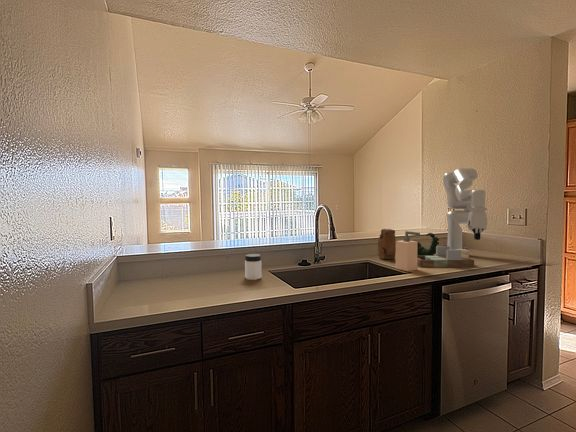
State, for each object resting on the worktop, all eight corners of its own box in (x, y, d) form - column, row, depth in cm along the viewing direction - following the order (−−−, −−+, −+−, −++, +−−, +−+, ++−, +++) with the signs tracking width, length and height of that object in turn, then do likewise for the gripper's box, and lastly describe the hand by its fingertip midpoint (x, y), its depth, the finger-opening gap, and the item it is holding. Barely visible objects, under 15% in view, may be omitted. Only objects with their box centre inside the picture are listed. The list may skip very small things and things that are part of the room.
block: (389, 257, 223) (389, 228, 222) (396, 259, 216) (397, 229, 215) (376, 258, 220) (376, 229, 218) (383, 260, 213) (383, 230, 211)
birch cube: (456, 256, 202) (456, 248, 201) (464, 256, 202) (464, 248, 201) (460, 258, 197) (460, 250, 196) (468, 258, 197) (469, 250, 196)
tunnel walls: (435, 255, 207) (436, 246, 206) (448, 255, 207) (448, 246, 206) (447, 260, 192) (447, 250, 191) (460, 260, 192) (461, 250, 191)
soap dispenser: (395, 268, 188) (395, 231, 187) (404, 266, 193) (405, 230, 191) (413, 272, 177) (414, 233, 176) (423, 270, 182) (424, 232, 181)
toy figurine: (439, 261, 214) (408, 253, 235) (442, 234, 212) (410, 227, 233) (431, 263, 209) (399, 254, 230) (434, 235, 207) (402, 228, 228)
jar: (254, 275, 174) (253, 253, 174) (264, 277, 169) (264, 254, 168) (241, 278, 167) (241, 255, 167) (252, 280, 162) (252, 257, 161)
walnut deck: (410, 261, 207) (410, 255, 207) (460, 261, 207) (460, 255, 207) (419, 266, 192) (419, 260, 192) (474, 266, 192) (474, 259, 192)
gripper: (486, 209, 201) (485, 238, 202) (462, 209, 201) (461, 238, 202) (493, 209, 194) (493, 240, 194) (469, 209, 194) (468, 240, 194)
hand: (477, 239), depth 198 cm, fingers closed
